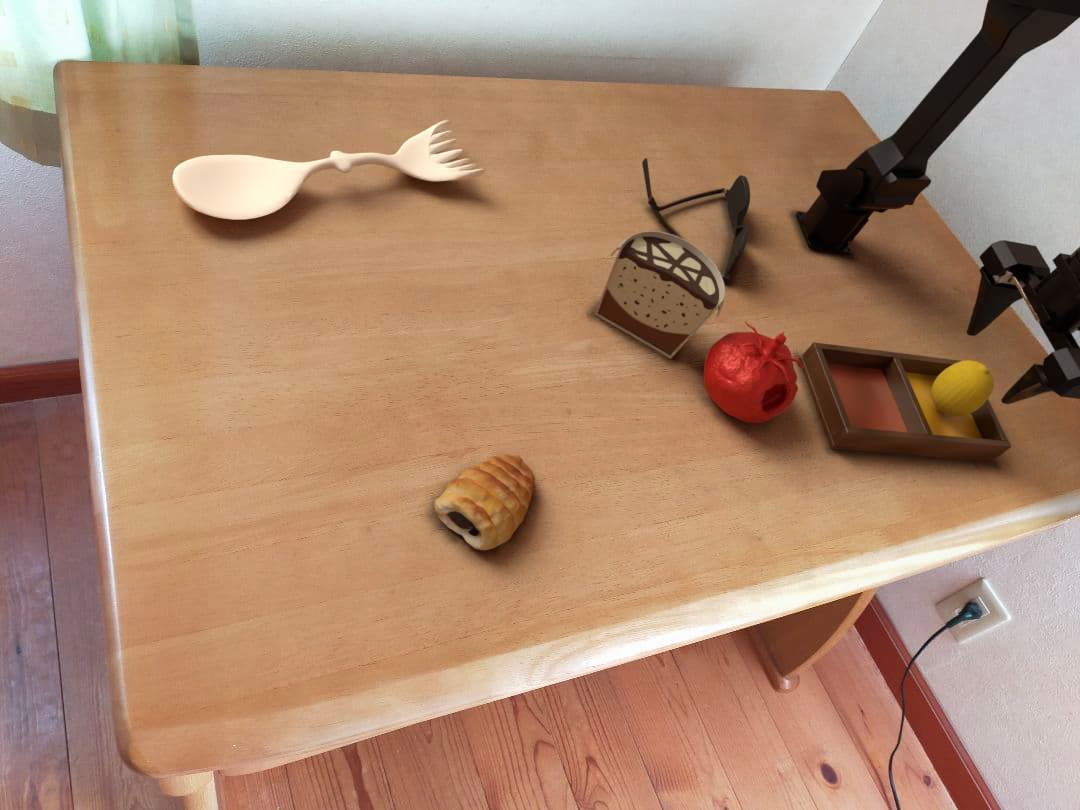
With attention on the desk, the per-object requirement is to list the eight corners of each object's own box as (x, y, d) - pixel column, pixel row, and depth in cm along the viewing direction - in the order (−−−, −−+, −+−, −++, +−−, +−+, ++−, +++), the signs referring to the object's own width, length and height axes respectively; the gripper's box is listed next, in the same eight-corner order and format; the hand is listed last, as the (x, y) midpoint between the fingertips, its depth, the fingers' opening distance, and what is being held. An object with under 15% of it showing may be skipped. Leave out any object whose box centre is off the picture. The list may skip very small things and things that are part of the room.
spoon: (481, 192, 99) (489, 168, 96) (192, 240, 82) (192, 213, 80) (444, 139, 102) (451, 114, 100) (159, 174, 86) (158, 146, 83)
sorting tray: (830, 448, 93) (847, 432, 91) (798, 359, 100) (813, 342, 97) (992, 461, 100) (1012, 447, 98) (952, 377, 107) (969, 361, 104)
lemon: (961, 435, 100) (1012, 395, 94) (918, 419, 99) (967, 377, 93) (956, 399, 103) (1004, 358, 97) (914, 383, 103) (961, 340, 96)
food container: (699, 331, 97) (743, 269, 90) (682, 366, 93) (727, 304, 86) (602, 275, 97) (638, 208, 90) (582, 307, 93) (618, 240, 86)
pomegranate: (676, 392, 91) (718, 335, 84) (715, 342, 97) (757, 285, 90) (754, 450, 89) (804, 398, 82) (789, 396, 96) (838, 343, 89)
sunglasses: (634, 160, 112) (650, 129, 108) (736, 199, 114) (755, 170, 110) (622, 246, 101) (639, 215, 98) (735, 287, 104) (756, 258, 100)
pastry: (490, 447, 79) (502, 424, 76) (548, 495, 78) (563, 473, 75) (425, 513, 73) (435, 491, 70) (487, 565, 72) (500, 545, 70)
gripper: (1216, 354, 80) (1083, 445, 92) (1116, 212, 91) (1008, 310, 103) (1127, 341, 77) (1000, 438, 89) (1034, 195, 87) (932, 299, 99)
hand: (987, 367), depth 95 cm, fingers open, 9 cm apart
